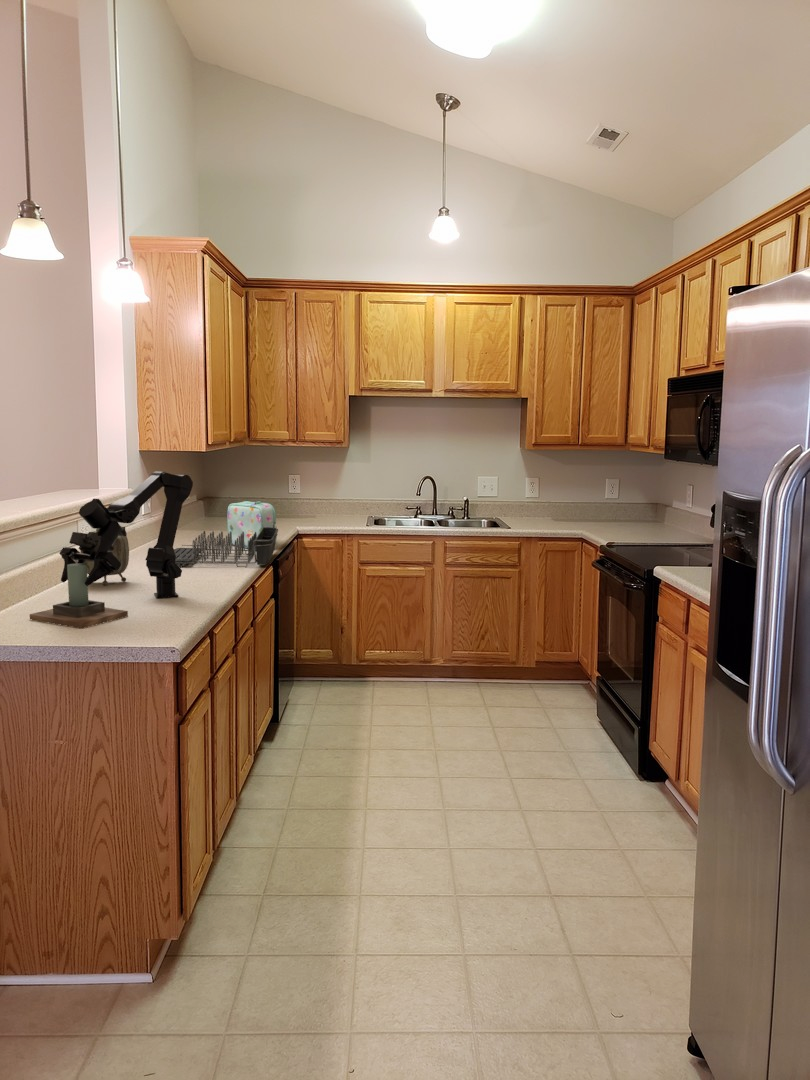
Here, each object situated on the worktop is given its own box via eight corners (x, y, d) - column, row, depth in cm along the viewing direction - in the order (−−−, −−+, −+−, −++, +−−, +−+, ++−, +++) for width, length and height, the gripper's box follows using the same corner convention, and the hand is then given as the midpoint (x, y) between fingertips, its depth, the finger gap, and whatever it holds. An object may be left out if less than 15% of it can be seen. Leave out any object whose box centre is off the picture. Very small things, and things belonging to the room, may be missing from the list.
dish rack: (273, 569, 296) (272, 538, 294) (155, 569, 292) (154, 537, 290) (279, 555, 329) (279, 527, 327) (173, 555, 325) (173, 526, 324)
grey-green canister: (74, 608, 217) (72, 563, 215) (91, 608, 216) (89, 563, 215) (66, 612, 212) (63, 566, 210) (84, 613, 212) (82, 566, 210)
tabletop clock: (130, 581, 267) (127, 509, 264) (126, 586, 258) (124, 512, 255) (85, 582, 264) (82, 509, 260) (80, 587, 255) (77, 512, 252)
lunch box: (281, 549, 344) (281, 501, 341) (263, 551, 336) (263, 502, 333) (242, 543, 360) (242, 497, 357) (225, 545, 352) (224, 498, 349)
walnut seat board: (77, 608, 226) (77, 594, 225) (127, 616, 217) (127, 602, 217) (29, 619, 212) (29, 605, 211) (81, 628, 203) (80, 613, 202)
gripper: (63, 518, 218) (31, 562, 210) (111, 523, 210) (80, 569, 202) (87, 542, 226) (57, 586, 218) (134, 548, 218) (105, 593, 210)
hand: (73, 583), depth 212 cm, fingers open, 9 cm apart
